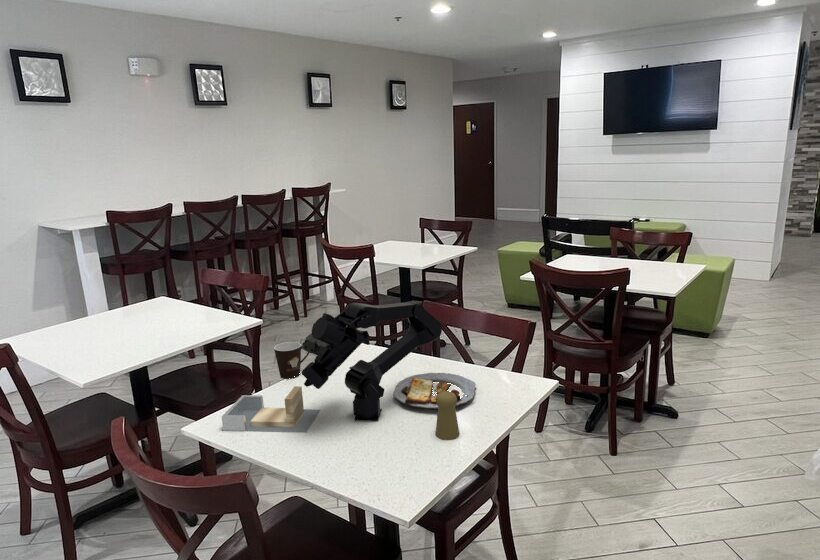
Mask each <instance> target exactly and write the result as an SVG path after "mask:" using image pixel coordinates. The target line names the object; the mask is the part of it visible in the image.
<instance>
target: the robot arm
mask: <svg viewBox="0 0 820 560" xmlns="http://www.w3.org/2000/svg"><path fill="white" fill-rule="evenodd" d="M399 319H400V320H402V319H407V321H408V323H409V326H408V329H407V332H406V334H404V335H402V337H401V338H399V339H398V340H397V341H395V342H394V343H392V344H391V345H390V346H389V347H388V348H386V349H385V350H384V351H383V352H381V353H380V354H378V355H377V356H376V357H375V358H374V359H372V360H371V361H367V360H366V361H365V360H363V359H359V360H358V361H357V362H356V363H355V364H354V365H352V366H349V367H348V369H349V370H348V371H347V372H345V376H344V377H345V378H344V385H345V387H346V388H347V389H348V390H350V391H349V392H350V393H352V394H353V395H354V397H353V398H354V399H353V400H352V407H353V409H352V410H353V416H354V421H357V422H360V421H361V422H378V421H379V419H380V416H381V414H382V412H383V411H382V408H381V400H380V398H383V397H384V395H385V393H384V392H385V388H384V387H383V386H381V385H380V384H381V380H382V378H383V376H384V375H385V374H386V373H387V372H388V371H390V370H391V369H392V368H394V367H395V366H396V365H397V364H398V363H400V362H401V361H402V360H403V359H405V358H406V357H407V356H408V355H410V354H411V353H412V352H413V351H414V350H415V349H417V348H418V347H420V346H423V345H427V344H430V343H432V342H434V341H436V340H437V339H439V338H440V337H441V335H442V332H443V328H442V324H441V322H440V320H437V319H436V318H435V317H434V315H432V314H431V313H430V312H429V311H427V309H425V306H423V305H422V304H421V303H419V302H414V301H411V300H408V301H406V302H398V303H397V302H396V303H390V304H389V303H387V304H378V305H375V304H374V305H372V304H369V303H368V304H367V303H359V302H351V303H349V304H348V305H347V307H346V308H345V309H344V310H343V311H342V312H341V313H339V314H337V315H336V316H335V317H334V316H333V315H331V314H329V313H326V312H324V313H323V314H322V316H320V317H319V318H317V320H316V321H315V322H314V323H313V325H312V327H311V333H309V334H308V335H307V336H306V337H305V340H304V341H303V342H302V343H301V346H303V347H302V349H301V350H303V351H305V352H307V353H308V352H309V354H312V355H315V359H314V361H312V362H311V361H310V362H309V363H308V365H306V367H304V368H303V369H302V370H301V371H300V374H301V375H302V376H303V377H304V378H305V381H304V383H303V385H304V386H305V387H306V388H308V387H310V386H314V387H315V388H316V389H317V390H320V389H321V388H322V387H323V386H324V385H325V384H326V382H328V380H329V377H330V376H332V375H333V374H334V373H335V372H336V370H337V369H338V368H339V367H341V366H342V365H343V364H344V362H345V361H346V360H347V359H348V358H349V357H350V356H351V355H352V354H353V353H354V352H355V351H356V350H357V349H358V348H359V347H360V346H361V345H362V344H364V345H367V346H370V344H371V343H370V335H369V332H368V330H360V328H361V329H370V328H371V327H376V326H377V325H378V324H379V323H382V322H385V321H392V320H399Z"/></svg>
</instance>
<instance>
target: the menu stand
mask: <svg viewBox="0 0 820 560" xmlns="http://www.w3.org/2000/svg"><path fill="white" fill-rule="evenodd" d="M303 398H304V397H303V387H302V386H297V385H296V386H295V385H294V386H293V388H292V389H291V390H290V391H289V393H288V394H287V395H286V397H285V398H284V407H264V408H261V409H260V411H259V412H258V413H257V414H256V415H255V416H254V418H253V419H252V420H251V421H250V423H251V427H295V426H296V425H297V423H298V422H299V420H300V419H301V417H302V416H303V414H304V409H305V407H304V399H303Z"/></svg>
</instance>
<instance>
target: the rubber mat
mask: <svg viewBox="0 0 820 560" xmlns="http://www.w3.org/2000/svg"><path fill="white" fill-rule="evenodd" d="M259 411H260V410H245V411H244V412H243V414H242V415H245V418H246V427H247V430H246V431H245V432H251V433H252V432H253V433H254V432H256V433H257V432H258V433H259V432H261V433H303V434H304V433H305V434H307V433H308V432H309V429H310V428H311V426H312V425H313V423H314V422H315V420H316V418H317V417H318V415H319V414H320V411H321V409H320V408H319V409H309V408H304V414H303V416H302V417H301V419H300V420H299V422H298V423H297V425H296V426H295V427H251V423H250V421H251V420H252V419H253V418H254V416H255V415H256V414H257V413H258V412H259ZM221 431H222V432H224V431H223V429H222V430H221Z"/></svg>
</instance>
